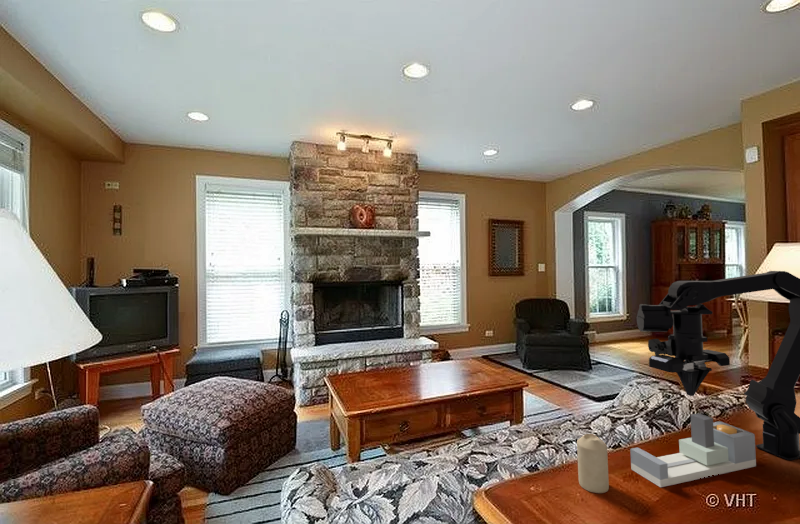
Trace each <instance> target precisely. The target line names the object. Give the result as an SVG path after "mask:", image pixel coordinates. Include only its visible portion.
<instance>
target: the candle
mask: <svg viewBox="0 0 800 524" xmlns="http://www.w3.org/2000/svg"><path fill="white" fill-rule="evenodd" d="M576 449H577V450H576V451H577V453H576V454H577V473H578V483H579V486H581V488H582V489H584V490H585V491H588V492H591V493H596V494H604V493H606V492H608V491H609V488H610V486H609V485H610V484H609V483H610V481H609V463H608V462H609V461H608V459H609V458H608V445H607V444H606V443H605V442H604V441H603V439H600V438H599V437H598V436H597V435H595V434H593V433H585V434H584V435H582V436H581V437H580V438H578V439H577V441H576Z"/></svg>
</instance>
